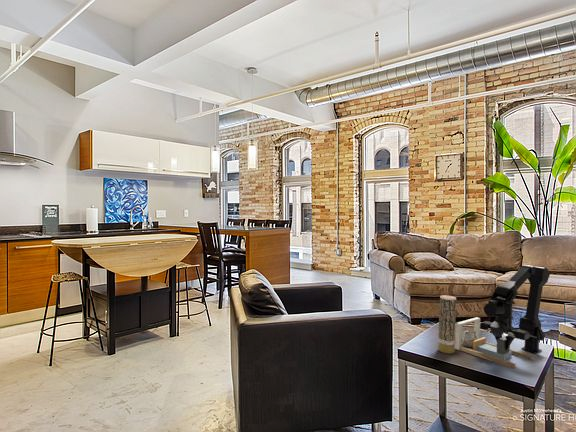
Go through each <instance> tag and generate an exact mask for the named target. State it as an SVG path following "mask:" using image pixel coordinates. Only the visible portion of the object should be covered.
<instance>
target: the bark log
mask: <svg viewBox="0 0 576 432" xmlns="http://www.w3.org/2000/svg"><path fill="white" fill-rule="evenodd" d="M439 297H440V298H439V315H438V341H437V342H438V343H437V344H438V346H437V349H438V352H441V353H443V354H449V355H450V354H454V353H455V344H456V318H457V317H456V314H457V297H456V296H452V295H445V294H443V295H440V296H439Z"/></svg>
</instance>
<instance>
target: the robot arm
mask: <svg viewBox="0 0 576 432" xmlns="http://www.w3.org/2000/svg"><path fill="white" fill-rule="evenodd" d="M550 275H551V272H550V271H549V270H548V268H547V267H543V266H535V265H531V264H530V265H528V264H522V265H520V268H519V269H518V270H517V271H516V272H515V273H514V274H513V275H512V276H511V278H510V279H508V280H507V281H504V282H501V283H500V284H498V285H497V286H496V287H495V289H494V291H493V293H492V295H491V297H490V300H488V303H486V304H485V305H484V307H483V311H484V314H485V316H487V317H489V318H494V317H495V318H494V321H493V322H492V321H488V320H485V321H483V322H480V330H484V331H487V330H489V329H490V332H489V333H490V334H492V335H493V336H494V338H495V340H496V342H497V339H500V338H502V337H503V335H504V334H505V333H506V334H507V335H505V336H504V337H506V347H505V348H506V351H507V350H508V348H509V346H510V347H511V344H512V343H513V341H514V340H515V339H518V340H521V341H524V346H523V347H521V349H520V350H522V351H526V352H530V353H533V354H538V353H541V352H542V351H543V350H542V349H540V341H541V342H542V341H544V340H545V337H546V334H545V332H544V331H543V329H542V322H541V320H540V318H539V314H540V308H541V300H542V294H543V287H544V286H545V285H546V284H547V283H548V281H549V278H550ZM527 280H528V283H529V290H528V298H527V304H526V310H525V315H524V316H522V317H520V318H519V323H518V328H519V329H517V330H513V325H512V324H513V319H514V317H513V305H516V302H515V301H514V300H515V299H516V298H517V296H518V294H519V293H518V291H519V288H521V286H522V285H523V284H524V283H525V282H526V281H527Z"/></svg>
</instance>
